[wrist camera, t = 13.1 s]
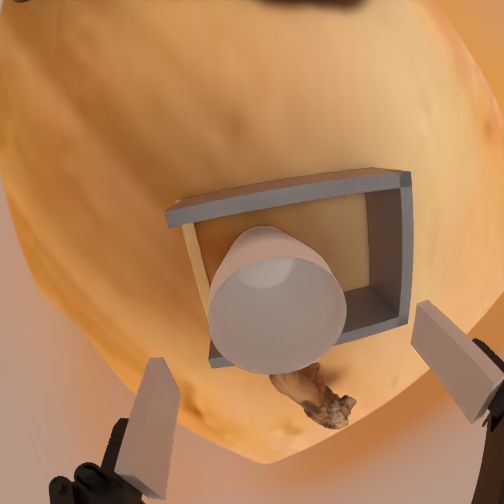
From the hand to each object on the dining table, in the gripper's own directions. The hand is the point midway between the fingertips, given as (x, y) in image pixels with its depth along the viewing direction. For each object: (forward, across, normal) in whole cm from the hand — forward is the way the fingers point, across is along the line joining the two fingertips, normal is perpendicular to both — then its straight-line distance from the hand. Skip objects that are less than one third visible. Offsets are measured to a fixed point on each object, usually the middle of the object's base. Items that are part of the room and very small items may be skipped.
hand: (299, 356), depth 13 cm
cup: (+16, 0, -1) cm, 16 cm away
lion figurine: (+16, +2, -15) cm, 22 cm away
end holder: (+16, +2, -1) cm, 16 cm away
